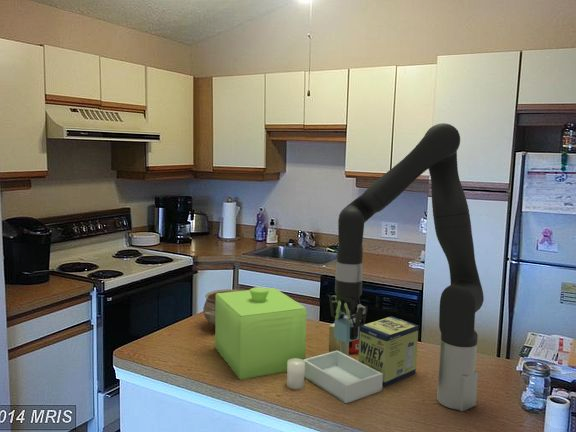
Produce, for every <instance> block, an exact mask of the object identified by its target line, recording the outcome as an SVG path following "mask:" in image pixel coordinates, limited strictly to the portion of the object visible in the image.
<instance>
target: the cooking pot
mask: <svg viewBox="0 0 576 432" xmlns="http://www.w3.org/2000/svg"><path fill="white" fill-rule="evenodd" d="M235 291H243V290H241V289H233V288H232V289H231V288H230V289H229V288H228V289H227V288H226V289H217V290H213V291H209V292H208V293H206V294H205V302H204V305H203V307H202V308H203V311H202V312H203V314H204V318H205V319H206V320H207V322H208V323H210V324H211V325H213V326H215V306H216V293H226V292H235Z"/></svg>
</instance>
